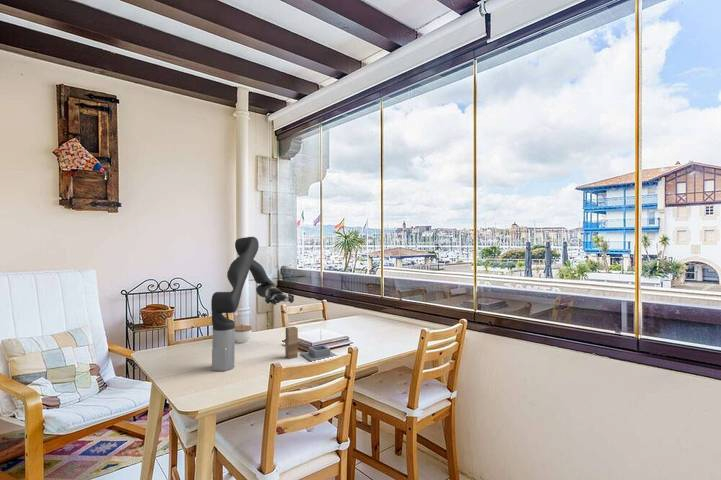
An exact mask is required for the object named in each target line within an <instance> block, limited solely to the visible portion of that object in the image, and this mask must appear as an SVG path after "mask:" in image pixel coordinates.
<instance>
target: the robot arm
mask: <svg viewBox="0 0 721 480" xmlns="http://www.w3.org/2000/svg"><path fill="white" fill-rule="evenodd" d="M234 242H235V243H234V248H235V251H236V253H237V255H238V257H237V258H235V259H234V260H232V262H231V264H230V266H229V268H228V269H227V272H226V273H227V275H226V277H227V280H228V282H229V284H230V286H231V287H232V290H231V291H215V292H214V293H213V294H212V297H211V302H210V305H211V308H210V309H211V324H212V341H211V342H212V349H211V371H217V372H218V371H221V372H225V371H226V372H227V371H228V370H231V369H233V368H235V345H236V344H235V343H236V341H235V326H236V324H235V321H234V320H233V319H230V318H228V317H226V316H225V315H224V314H234V313H235V312H237V310H238V307H239V304H240V301H241V300H240V299H241V295H242V291H243V288H244V285H245V283H246V280H247V278H248V276H249V272H250V273H251V275H252V277H253V280H254V282H255V283H256V284H258V285H257V286H256V288H255V291H256V294H257V295H258V296H259V297H261V298H264V302H265V303H266V304H272V305H274V306H275V305H277V304H279V303H281V302H284V303H287V302H288V303H290V304H293V303H294V302H295V296H294V294H293V295H292V294H291V293H288V294H284V293H283V291H282V290H281V289H280V288H277V287H276V286H275V283H274V282H273V281H272V280H271V279H270V278H269V276H268V275H267V273H266V270H265V268H264V267H263V266H262V264H260V262H257V261H256V260H255V257H256V255H257V253H258V251H259V247H260V246H259V245H260V244H259V240H258V238H256V237H255V236H245V237H241V238H237V239H236V240H235V241H234Z"/></svg>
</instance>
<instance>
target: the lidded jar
mask: <svg viewBox="0 0 721 480" xmlns="http://www.w3.org/2000/svg"><path fill="white" fill-rule="evenodd" d="M252 334H253V327H252V326H251V325H245V324H243V323H242V324H241V325H235V343H236V344H244V343H248V342H249V340H250V339H251V337H252Z"/></svg>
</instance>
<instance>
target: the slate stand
mask: <svg viewBox="0 0 721 480" xmlns="http://www.w3.org/2000/svg"><path fill="white" fill-rule="evenodd" d="M307 349H308V350H307V351H306V352H305V351H304V352H300V353H299V354H300V356H301V357H303V358H305V359H306V360H307V361H308V362H310V363H311V362H312V361H316V360H321V359H325V358H329V357H333V356H338V355H337V354H335V353H333V352H332V351H331V348H329V347H327V346H326V345H324V344H322V345H321V344H320V345H315V346H309V347H308V348H307ZM312 363H313V362H312Z"/></svg>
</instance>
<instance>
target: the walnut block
mask: <svg viewBox="0 0 721 480" xmlns="http://www.w3.org/2000/svg"><path fill="white" fill-rule="evenodd" d="M298 333H299V329H298V327H296V326H287V327H285V349H284V351H285V353H284V354H285V358H286V359H288V360H292V359H297V358H298V357H299V356H298V351H299V349H298V348H299V347H298V344H299V341H298V337H299V335H298Z"/></svg>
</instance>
